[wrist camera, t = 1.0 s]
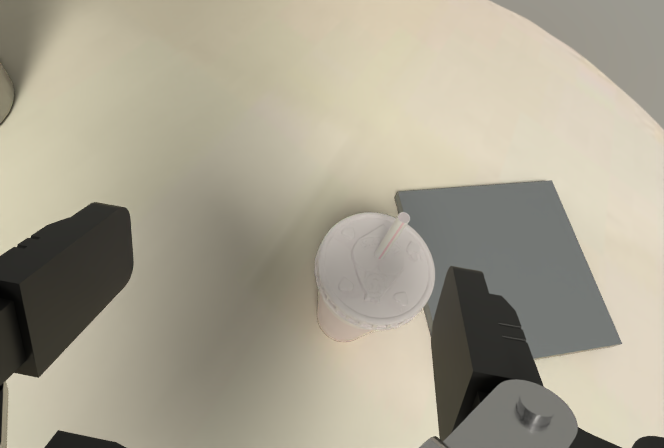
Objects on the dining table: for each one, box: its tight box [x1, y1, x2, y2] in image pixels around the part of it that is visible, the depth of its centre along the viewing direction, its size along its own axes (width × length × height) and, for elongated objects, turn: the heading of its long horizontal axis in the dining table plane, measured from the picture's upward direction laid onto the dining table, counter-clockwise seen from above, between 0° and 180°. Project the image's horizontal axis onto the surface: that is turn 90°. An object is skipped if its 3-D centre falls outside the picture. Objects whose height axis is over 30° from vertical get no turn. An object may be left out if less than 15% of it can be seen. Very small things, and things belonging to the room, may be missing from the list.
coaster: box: [395, 181, 622, 360], centre depth 36 cm, size 14×14×1 cm
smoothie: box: [314, 212, 435, 342], centre depth 27 cm, size 6×6×14 cm
